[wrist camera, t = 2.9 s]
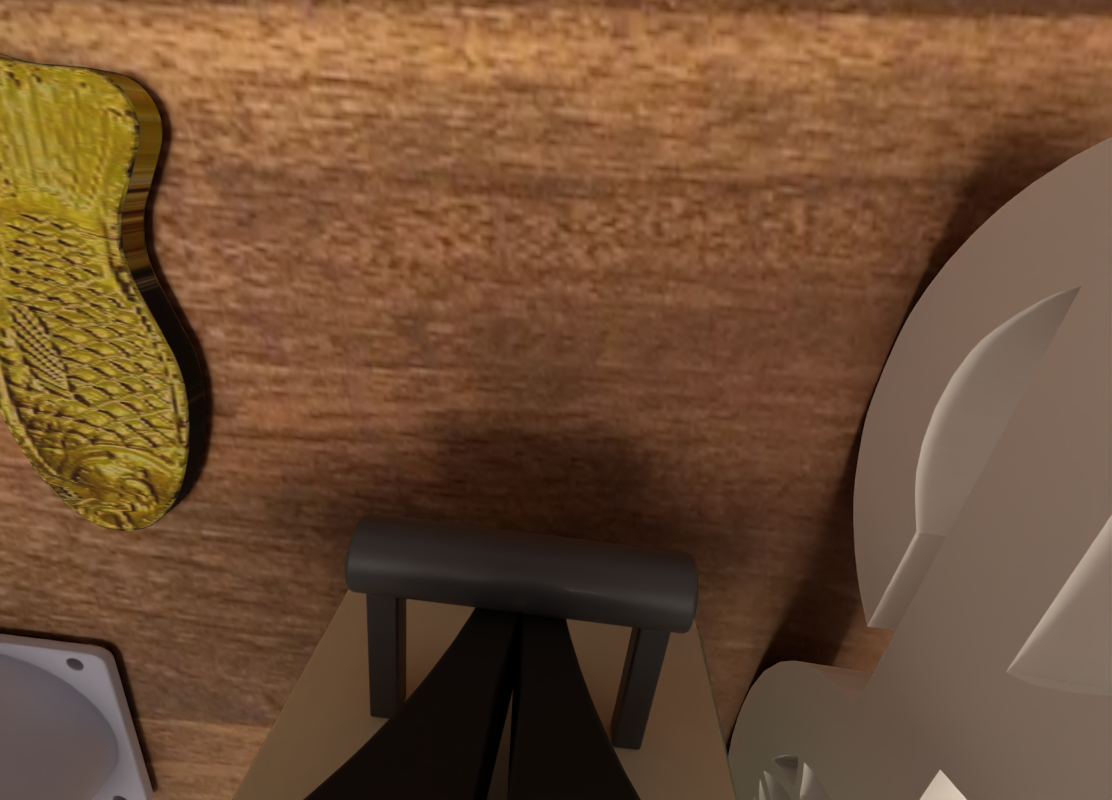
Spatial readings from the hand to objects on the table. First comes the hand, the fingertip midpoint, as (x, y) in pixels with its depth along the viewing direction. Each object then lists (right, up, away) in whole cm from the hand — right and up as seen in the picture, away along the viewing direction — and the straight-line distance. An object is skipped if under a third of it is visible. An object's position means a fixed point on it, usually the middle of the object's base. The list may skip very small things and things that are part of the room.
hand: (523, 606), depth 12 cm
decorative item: (-10, +6, +2) cm, 12 cm away
